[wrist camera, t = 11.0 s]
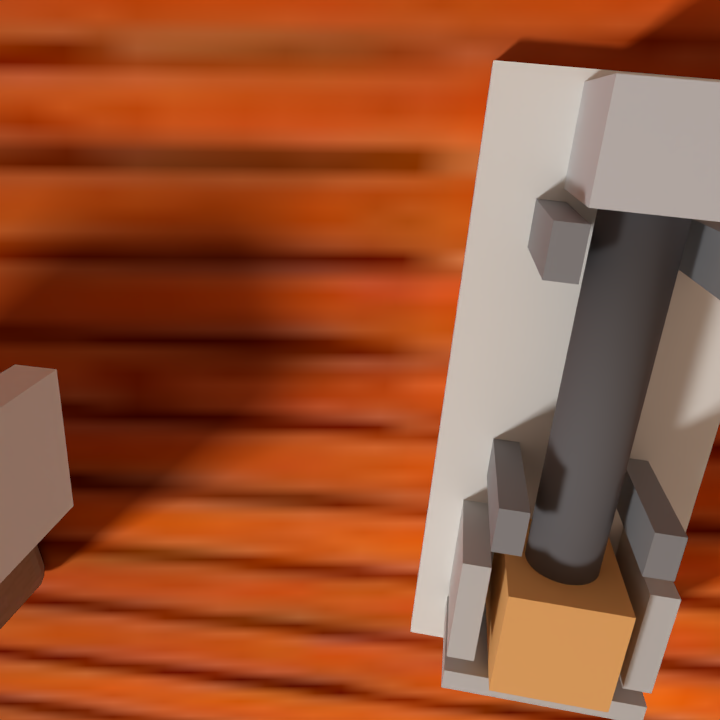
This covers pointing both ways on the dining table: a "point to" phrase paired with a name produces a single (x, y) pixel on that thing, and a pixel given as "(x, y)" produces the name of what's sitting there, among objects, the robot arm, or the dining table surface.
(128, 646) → the dining table surface
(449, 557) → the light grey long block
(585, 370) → the rod with end blocks
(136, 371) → the dining table surface
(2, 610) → the wooden block
